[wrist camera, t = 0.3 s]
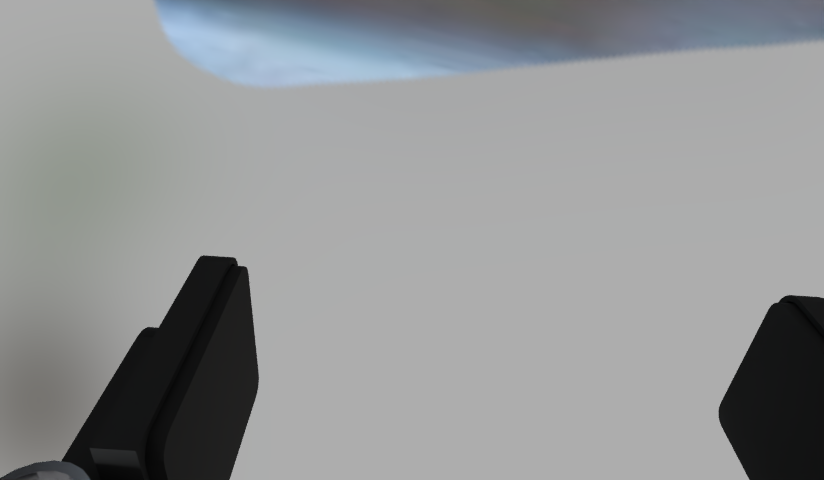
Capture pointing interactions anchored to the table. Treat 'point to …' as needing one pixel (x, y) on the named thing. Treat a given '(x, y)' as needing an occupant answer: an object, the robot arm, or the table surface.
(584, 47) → the table surface
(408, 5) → the table surface
